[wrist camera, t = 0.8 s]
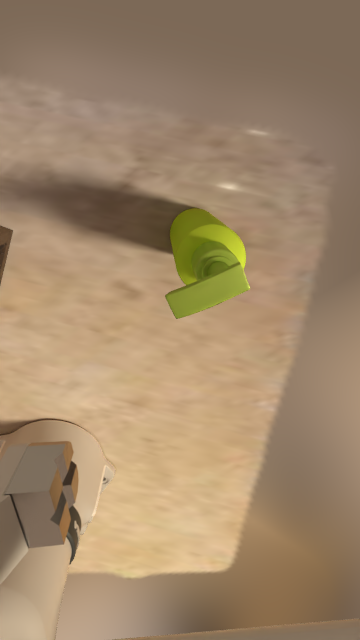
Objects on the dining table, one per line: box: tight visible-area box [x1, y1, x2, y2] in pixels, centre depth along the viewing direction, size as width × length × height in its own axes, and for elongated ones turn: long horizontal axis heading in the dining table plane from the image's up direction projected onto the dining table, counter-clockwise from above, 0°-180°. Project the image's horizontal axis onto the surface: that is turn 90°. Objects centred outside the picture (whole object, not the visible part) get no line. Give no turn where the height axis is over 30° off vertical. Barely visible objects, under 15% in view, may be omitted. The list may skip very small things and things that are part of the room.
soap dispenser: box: [165, 208, 250, 319], centre depth 32 cm, size 6×7×20 cm
